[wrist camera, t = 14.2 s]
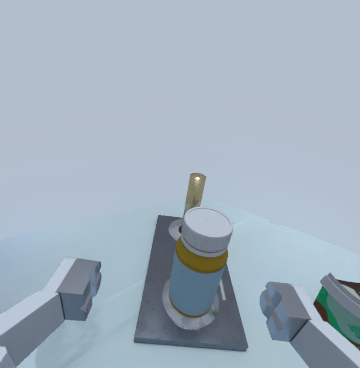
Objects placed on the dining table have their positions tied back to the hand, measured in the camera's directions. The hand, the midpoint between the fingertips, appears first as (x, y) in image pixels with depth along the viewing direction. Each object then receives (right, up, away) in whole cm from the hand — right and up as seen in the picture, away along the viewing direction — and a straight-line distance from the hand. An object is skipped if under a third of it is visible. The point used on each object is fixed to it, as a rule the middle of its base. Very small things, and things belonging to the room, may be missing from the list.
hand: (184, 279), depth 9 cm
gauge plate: (+1, -11, +28) cm, 30 cm away
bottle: (+1, -13, +21) cm, 25 cm away
